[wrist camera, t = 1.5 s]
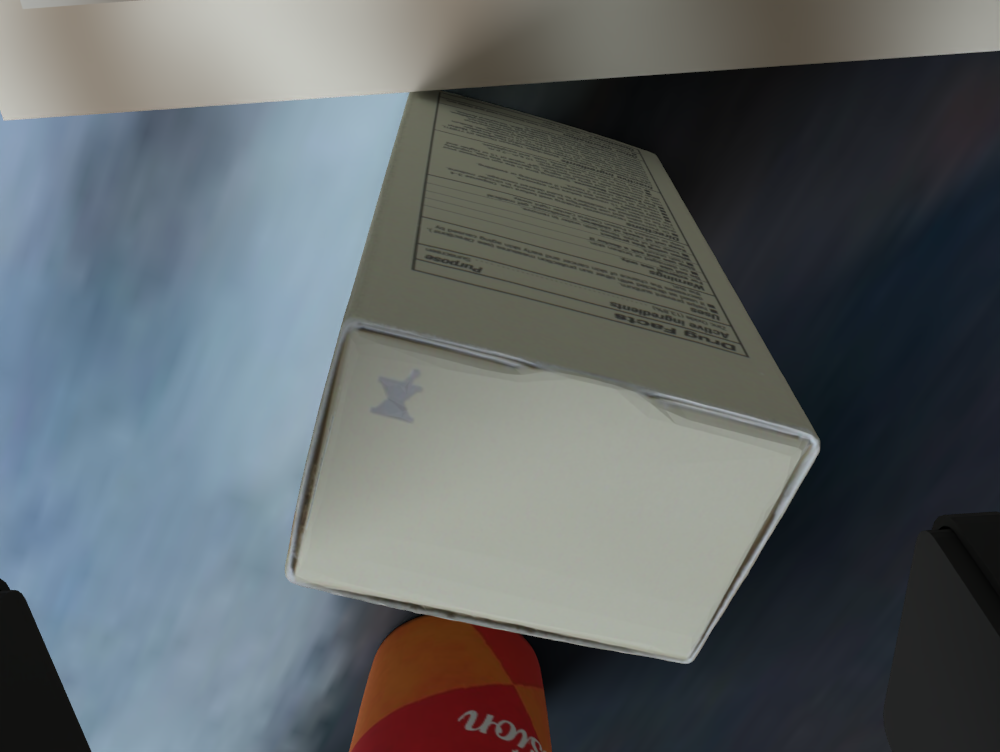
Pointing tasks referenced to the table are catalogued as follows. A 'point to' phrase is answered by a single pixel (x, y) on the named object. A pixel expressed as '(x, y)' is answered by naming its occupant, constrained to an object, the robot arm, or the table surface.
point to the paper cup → (453, 692)
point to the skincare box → (543, 397)
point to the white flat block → (431, 45)
